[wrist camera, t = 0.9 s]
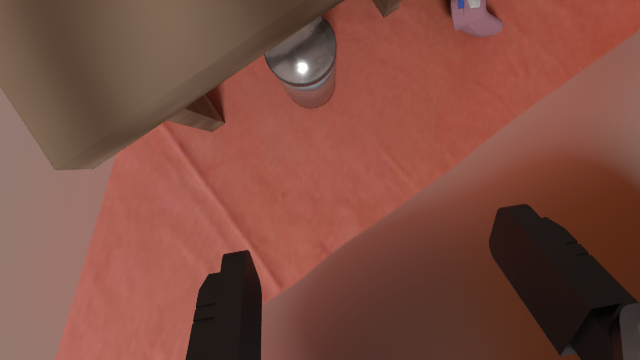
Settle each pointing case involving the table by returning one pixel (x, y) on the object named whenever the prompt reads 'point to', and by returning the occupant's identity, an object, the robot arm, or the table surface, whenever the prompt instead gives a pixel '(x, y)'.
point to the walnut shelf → (132, 64)
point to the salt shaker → (306, 64)
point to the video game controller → (474, 18)
